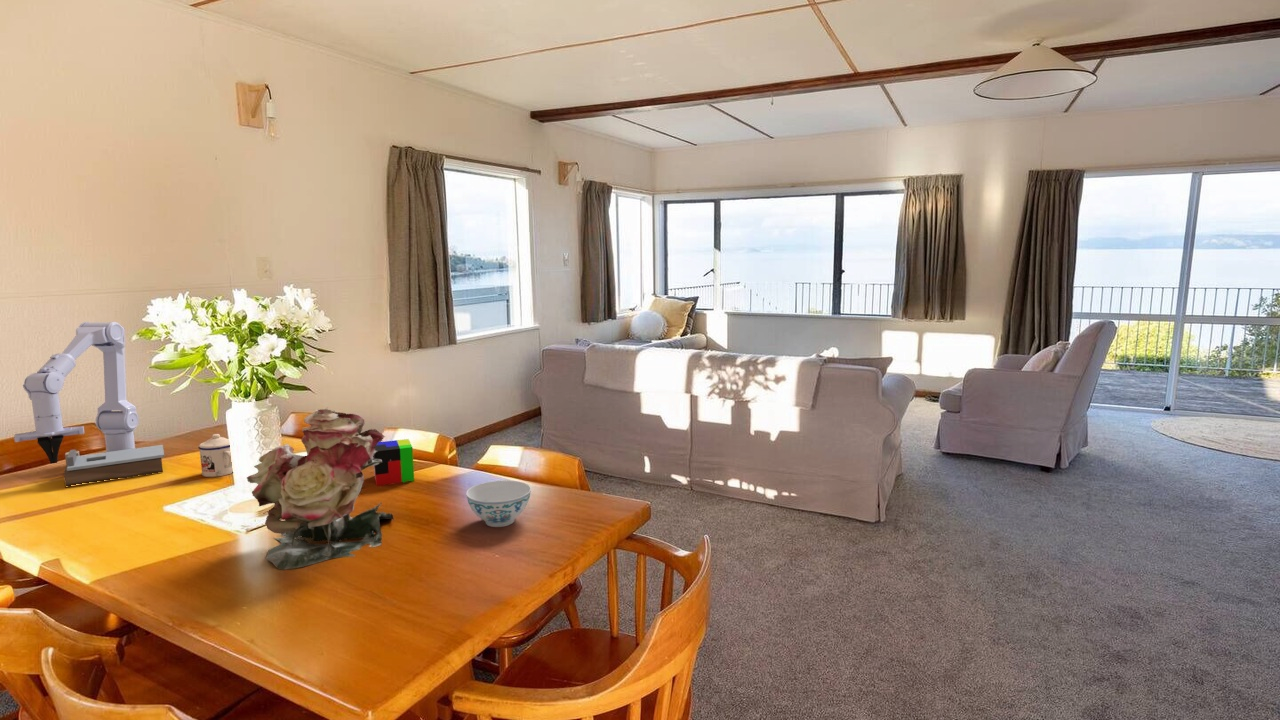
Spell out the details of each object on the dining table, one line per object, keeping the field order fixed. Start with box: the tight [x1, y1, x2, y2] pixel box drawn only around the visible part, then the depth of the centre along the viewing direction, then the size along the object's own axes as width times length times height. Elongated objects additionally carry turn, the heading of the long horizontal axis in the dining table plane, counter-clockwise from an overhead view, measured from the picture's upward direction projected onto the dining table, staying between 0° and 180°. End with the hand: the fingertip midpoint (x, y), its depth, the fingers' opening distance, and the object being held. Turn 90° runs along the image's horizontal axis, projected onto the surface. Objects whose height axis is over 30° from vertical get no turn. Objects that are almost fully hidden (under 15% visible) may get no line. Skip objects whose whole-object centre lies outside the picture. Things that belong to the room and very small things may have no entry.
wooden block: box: [64, 450, 81, 466], centre depth 197 cm, size 3×3×6 cm
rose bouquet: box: [246, 408, 395, 571], centre depth 143 cm, size 26×29×30 cm
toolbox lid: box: [67, 444, 165, 471], centre depth 195 cm, size 14×22×3 cm, turn 127°
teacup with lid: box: [198, 433, 233, 478], centre depth 195 cm, size 12×9×12 cm
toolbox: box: [63, 458, 164, 487], centre depth 195 cm, size 14×22×4 cm, turn 127°
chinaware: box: [465, 480, 532, 528], centre depth 157 cm, size 15×15×8 cm
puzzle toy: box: [373, 438, 415, 487], centre depth 190 cm, size 10×10×10 cm
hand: (53, 462), depth 186 cm, fingers closed
